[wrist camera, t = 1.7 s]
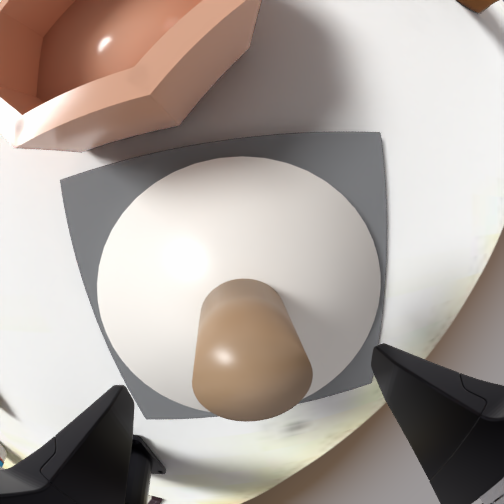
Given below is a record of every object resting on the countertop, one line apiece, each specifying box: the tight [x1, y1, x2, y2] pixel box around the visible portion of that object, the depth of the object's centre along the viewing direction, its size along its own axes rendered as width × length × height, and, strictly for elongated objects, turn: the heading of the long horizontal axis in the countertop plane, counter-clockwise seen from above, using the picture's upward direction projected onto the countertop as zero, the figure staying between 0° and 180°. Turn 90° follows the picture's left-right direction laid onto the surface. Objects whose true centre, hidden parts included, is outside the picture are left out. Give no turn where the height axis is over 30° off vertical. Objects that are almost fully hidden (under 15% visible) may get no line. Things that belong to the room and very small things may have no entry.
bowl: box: [0, 0, 262, 152], centre depth 6 cm, size 12×12×6 cm
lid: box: [97, 156, 381, 421], centre depth 11 cm, size 14×14×5 cm
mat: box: [60, 132, 387, 419], centre depth 13 cm, size 16×16×1 cm
